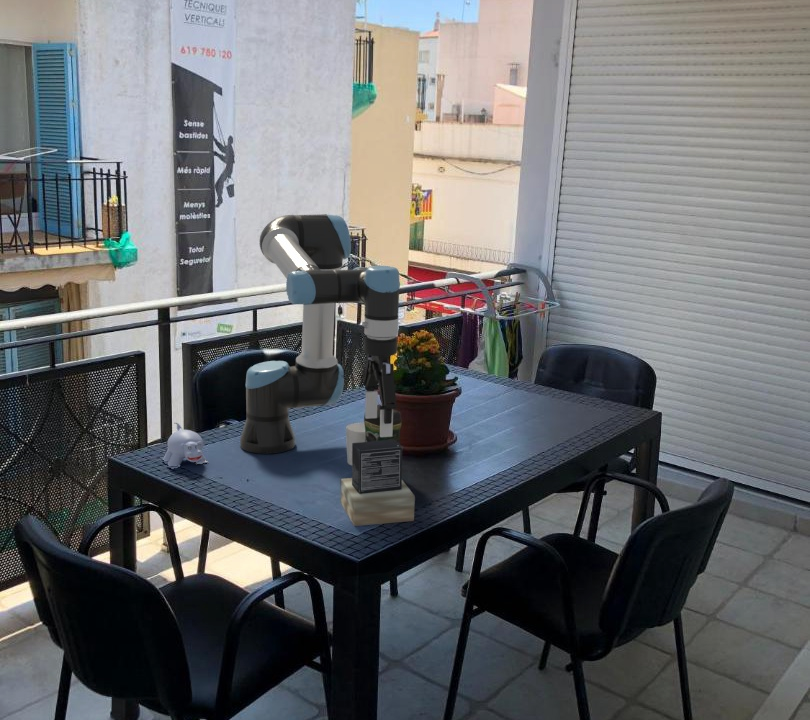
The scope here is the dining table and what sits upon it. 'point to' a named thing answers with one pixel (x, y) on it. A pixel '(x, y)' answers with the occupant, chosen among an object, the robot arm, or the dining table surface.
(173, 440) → the hippopotamus toy
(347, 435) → the white cup
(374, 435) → the coffee jar
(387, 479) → the small box
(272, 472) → the dining table surface
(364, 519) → the plinth
